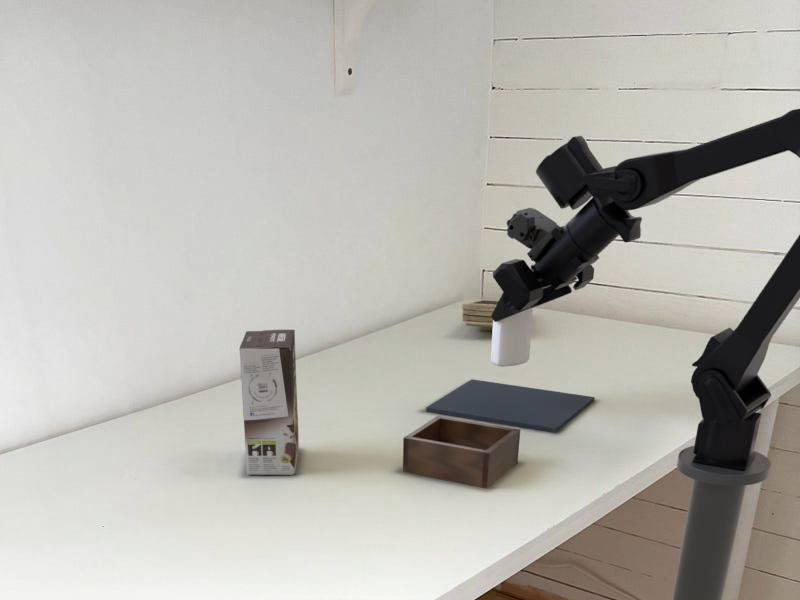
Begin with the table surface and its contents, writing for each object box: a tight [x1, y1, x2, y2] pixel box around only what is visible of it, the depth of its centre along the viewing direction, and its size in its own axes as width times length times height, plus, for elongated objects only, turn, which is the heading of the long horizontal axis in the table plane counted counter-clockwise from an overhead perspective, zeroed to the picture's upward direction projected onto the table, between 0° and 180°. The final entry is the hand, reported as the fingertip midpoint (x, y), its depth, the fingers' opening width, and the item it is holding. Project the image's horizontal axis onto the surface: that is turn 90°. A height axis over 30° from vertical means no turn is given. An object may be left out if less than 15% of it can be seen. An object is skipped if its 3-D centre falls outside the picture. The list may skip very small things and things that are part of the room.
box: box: [461, 299, 500, 331], centre depth 187 cm, size 8×22×5 cm, turn 164°
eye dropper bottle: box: [490, 308, 533, 367], centre depth 139 cm, size 4×6×12 cm
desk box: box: [402, 415, 521, 489], centre depth 125 cm, size 12×10×4 cm
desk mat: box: [425, 378, 595, 433], centre depth 146 cm, size 20×16×1 cm
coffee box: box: [239, 329, 300, 476], centre depth 125 cm, size 9×6×16 cm
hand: (504, 314), depth 140 cm, fingers closed on eye dropper bottle, 5 cm apart
